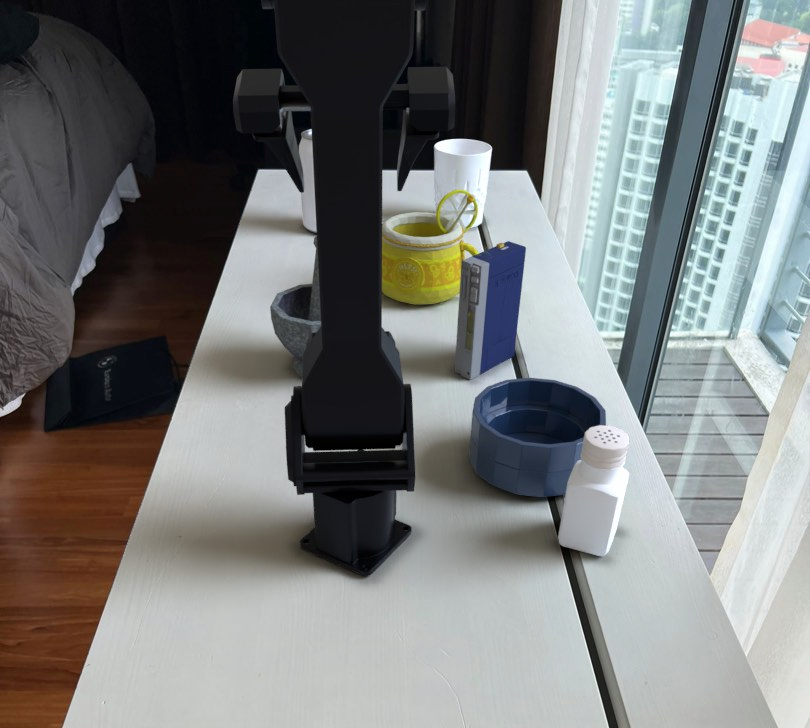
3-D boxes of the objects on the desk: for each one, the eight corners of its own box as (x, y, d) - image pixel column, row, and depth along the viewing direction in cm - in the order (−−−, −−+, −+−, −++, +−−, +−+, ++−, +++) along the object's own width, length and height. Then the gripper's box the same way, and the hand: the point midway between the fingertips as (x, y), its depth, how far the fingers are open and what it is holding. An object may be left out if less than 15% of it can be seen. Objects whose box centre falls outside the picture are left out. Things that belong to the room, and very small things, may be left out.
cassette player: (497, 348, 90) (508, 237, 83) (514, 356, 89) (527, 244, 81) (452, 372, 86) (459, 257, 78) (470, 380, 85) (479, 264, 77)
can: (296, 221, 118) (290, 129, 111) (339, 216, 121) (336, 125, 113) (312, 237, 114) (307, 142, 106) (356, 231, 116) (355, 137, 108)
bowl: (564, 518, 68) (574, 462, 64) (446, 475, 72) (449, 420, 69) (613, 454, 75) (625, 400, 72) (503, 418, 80) (509, 366, 76)
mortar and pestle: (361, 393, 83) (360, 274, 75) (268, 386, 83) (256, 268, 76) (376, 341, 91) (376, 230, 84) (291, 335, 92) (283, 224, 84)
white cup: (424, 226, 118) (427, 151, 112) (439, 209, 124) (442, 136, 118) (479, 233, 117) (485, 157, 110) (491, 215, 123) (497, 142, 116)
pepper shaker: (567, 518, 68) (585, 417, 62) (616, 530, 67) (640, 429, 61) (554, 547, 65) (572, 444, 59) (606, 561, 64) (629, 457, 58)
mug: (361, 303, 99) (359, 198, 91) (392, 269, 107) (393, 169, 99) (466, 320, 96) (474, 213, 88) (490, 283, 104) (499, 182, 96)
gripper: (452, -36, 71) (445, 140, 84) (231, -33, 71) (258, 143, 84) (459, 27, 65) (450, 207, 78) (218, 30, 65) (249, 210, 78)
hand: (350, 189), depth 79 cm, fingers open, 9 cm apart
